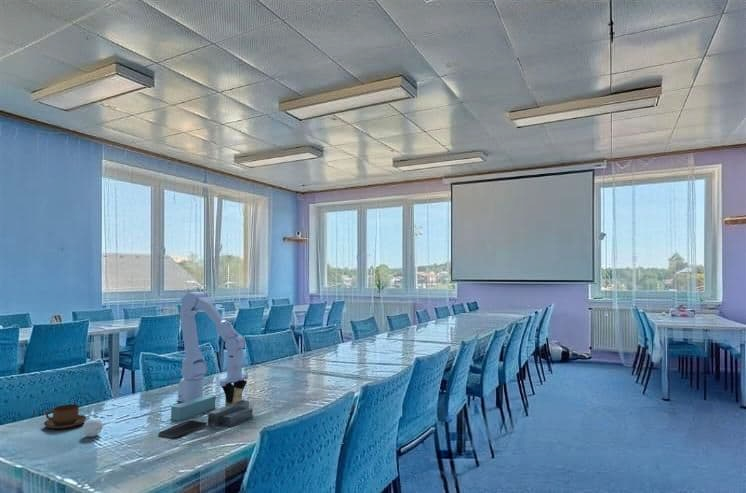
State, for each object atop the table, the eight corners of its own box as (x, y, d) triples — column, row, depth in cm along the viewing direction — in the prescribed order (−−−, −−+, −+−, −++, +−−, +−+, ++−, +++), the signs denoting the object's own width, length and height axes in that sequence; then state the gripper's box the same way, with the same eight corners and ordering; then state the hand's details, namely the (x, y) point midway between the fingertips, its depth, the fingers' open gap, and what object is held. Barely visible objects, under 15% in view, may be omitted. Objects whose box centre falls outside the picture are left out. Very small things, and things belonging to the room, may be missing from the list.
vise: (207, 425, 164) (208, 412, 164) (242, 412, 181) (242, 400, 181) (224, 428, 161) (224, 415, 162) (257, 414, 178) (257, 402, 178)
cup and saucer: (41, 433, 154) (42, 414, 155) (46, 423, 165) (47, 404, 165) (84, 428, 160) (85, 410, 160) (87, 418, 171) (87, 401, 171)
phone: (156, 433, 154) (190, 420, 168) (156, 436, 154) (190, 423, 168) (176, 436, 151) (208, 423, 165) (175, 440, 151) (208, 426, 165)
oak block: (225, 405, 190) (225, 389, 190) (232, 402, 194) (233, 387, 194) (234, 406, 188) (234, 390, 188) (241, 403, 192) (242, 388, 193)
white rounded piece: (87, 440, 149) (88, 422, 149) (78, 437, 152) (79, 419, 152) (112, 433, 155) (113, 416, 155) (102, 430, 158) (103, 413, 158)
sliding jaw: (170, 419, 171) (171, 406, 171) (207, 406, 188) (207, 394, 188) (179, 420, 169) (179, 407, 170) (215, 407, 186) (215, 395, 186)
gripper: (230, 370, 184) (229, 406, 183) (254, 364, 197) (253, 397, 196) (216, 368, 186) (214, 404, 186) (240, 362, 200) (239, 395, 199)
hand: (233, 400), depth 191 cm, fingers closed on oak block, 4 cm apart
